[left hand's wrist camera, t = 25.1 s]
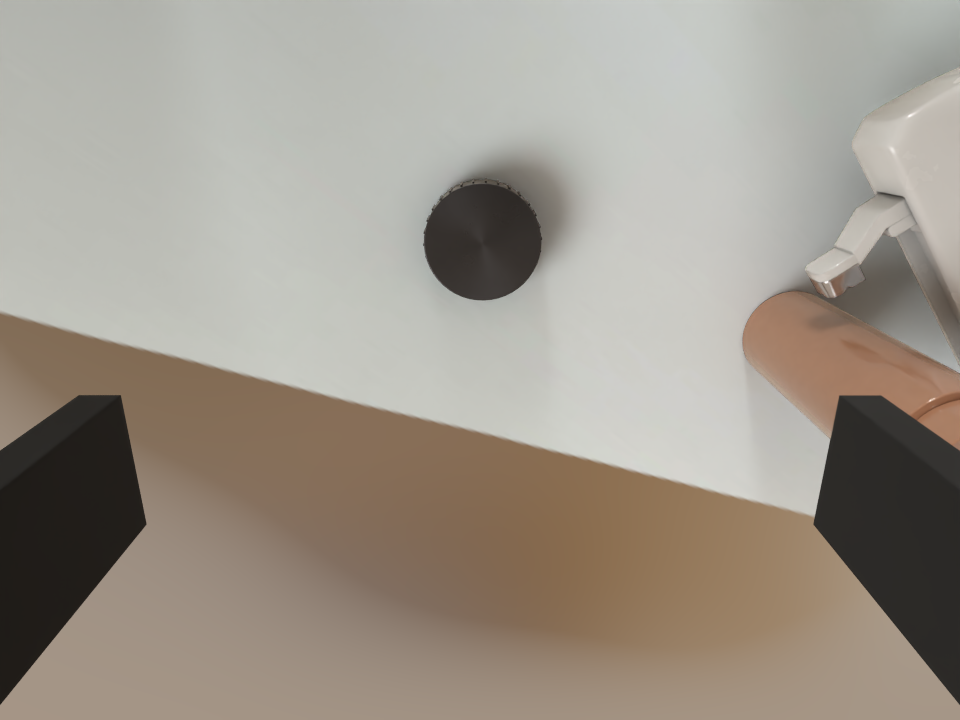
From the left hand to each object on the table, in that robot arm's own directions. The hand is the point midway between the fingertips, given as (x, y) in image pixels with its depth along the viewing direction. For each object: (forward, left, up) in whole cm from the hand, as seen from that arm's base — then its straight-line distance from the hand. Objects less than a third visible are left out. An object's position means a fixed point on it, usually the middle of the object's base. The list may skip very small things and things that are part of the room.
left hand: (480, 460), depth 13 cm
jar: (+15, -13, -27) cm, 33 cm away
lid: (0, 0, -25) cm, 25 cm away
